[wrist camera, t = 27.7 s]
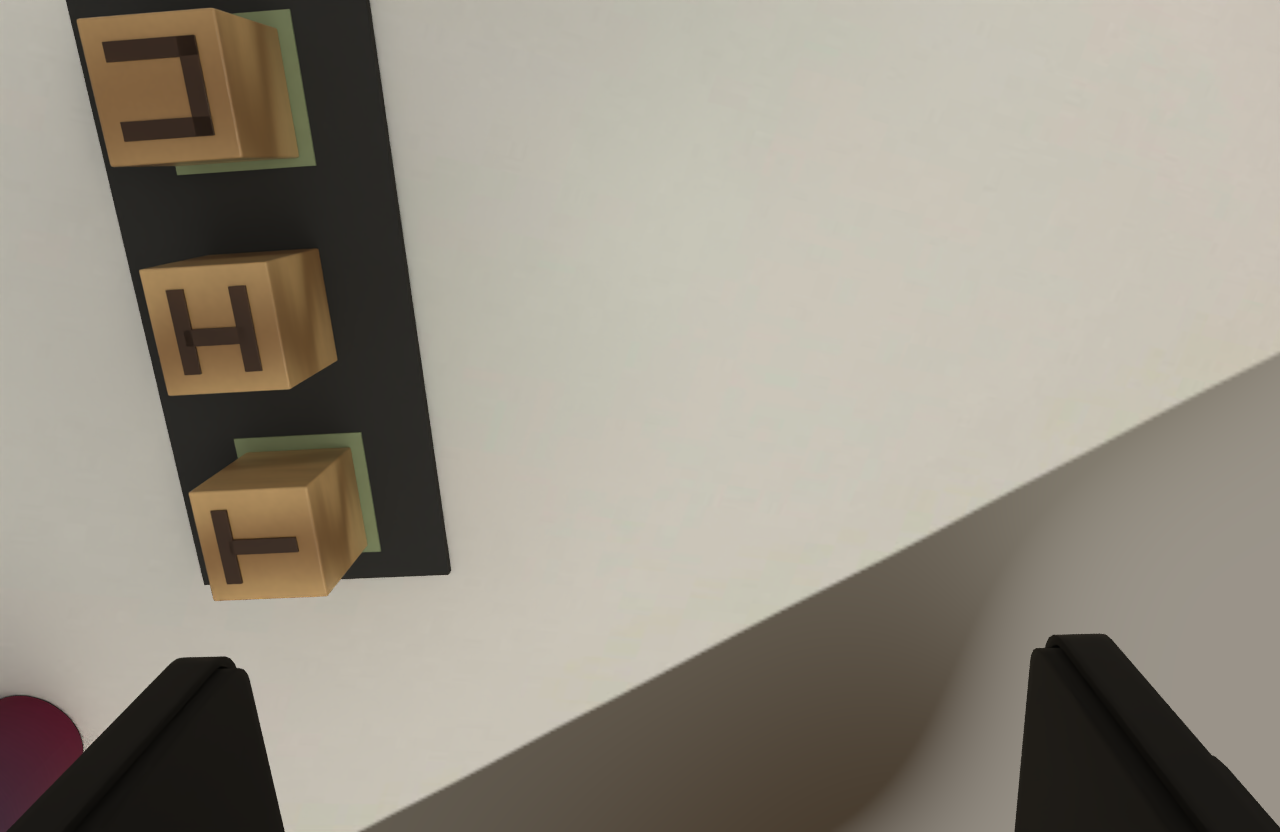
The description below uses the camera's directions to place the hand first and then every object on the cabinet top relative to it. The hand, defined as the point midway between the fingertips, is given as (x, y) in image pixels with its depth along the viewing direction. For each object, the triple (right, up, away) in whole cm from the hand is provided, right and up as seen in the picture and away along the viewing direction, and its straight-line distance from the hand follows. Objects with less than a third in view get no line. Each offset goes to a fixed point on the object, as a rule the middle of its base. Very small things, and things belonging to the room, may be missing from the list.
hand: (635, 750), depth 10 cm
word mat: (-14, +8, +24) cm, 29 cm away
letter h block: (-14, +8, +24) cm, 29 cm away
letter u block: (-15, +16, +21) cm, 31 cm away
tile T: (-14, 0, +26) cm, 30 cm away
